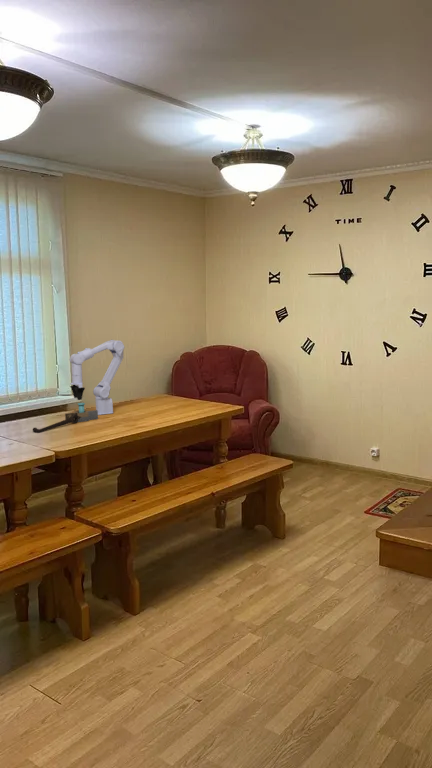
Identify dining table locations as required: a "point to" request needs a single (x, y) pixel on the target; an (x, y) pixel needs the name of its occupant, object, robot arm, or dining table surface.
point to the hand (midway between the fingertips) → (77, 398)
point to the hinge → (84, 415)
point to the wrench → (59, 423)
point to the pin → (81, 407)
